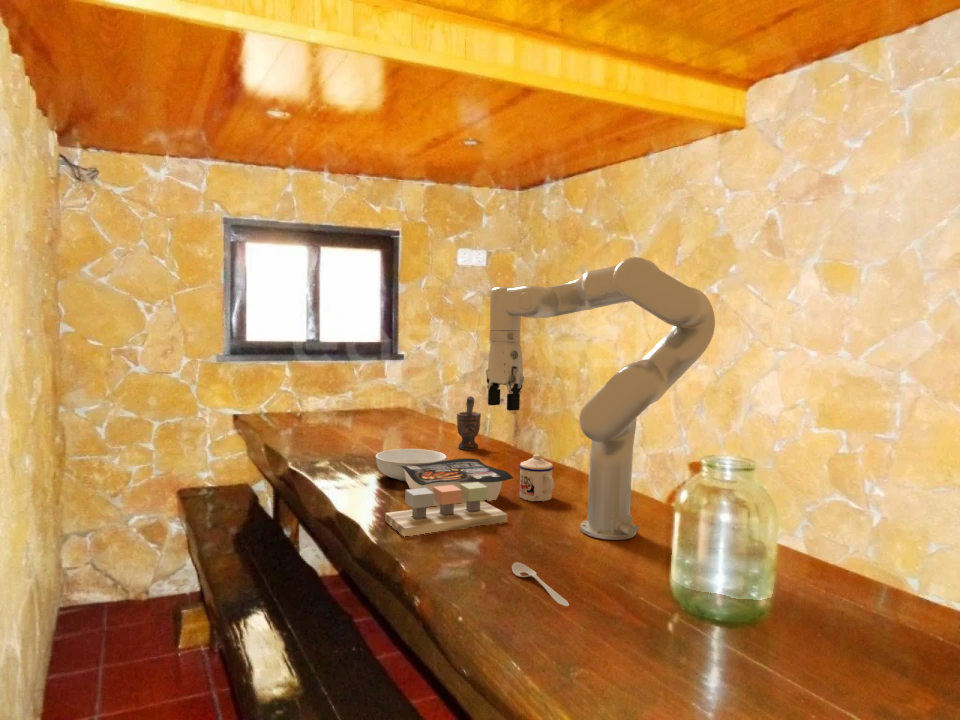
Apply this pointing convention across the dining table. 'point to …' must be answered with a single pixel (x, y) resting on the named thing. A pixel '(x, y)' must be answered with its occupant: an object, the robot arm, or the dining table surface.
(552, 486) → the teacup with lid
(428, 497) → the slate button
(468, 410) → the mortar and pestle
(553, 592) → the spoon
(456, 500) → the terracotta button
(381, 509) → the dining table surface
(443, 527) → the button board
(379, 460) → the serving bowl
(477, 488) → the sage button
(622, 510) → the robot arm
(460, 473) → the food packaging
